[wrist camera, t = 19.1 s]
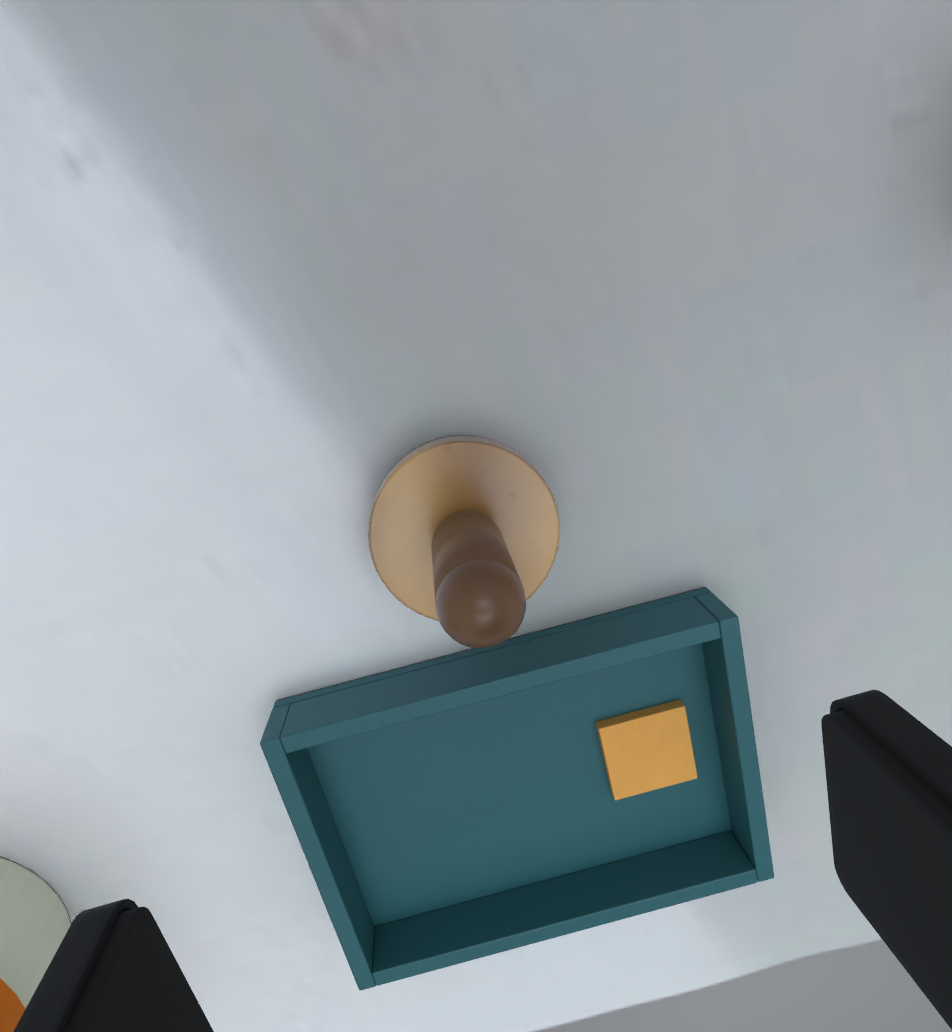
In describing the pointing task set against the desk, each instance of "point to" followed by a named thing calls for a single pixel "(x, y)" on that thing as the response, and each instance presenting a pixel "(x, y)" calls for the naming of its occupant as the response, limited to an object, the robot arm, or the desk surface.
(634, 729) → the orange flat square block
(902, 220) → the desk surface
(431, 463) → the stamp
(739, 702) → the tray
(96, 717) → the desk surface
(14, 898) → the reusable coffee cup
